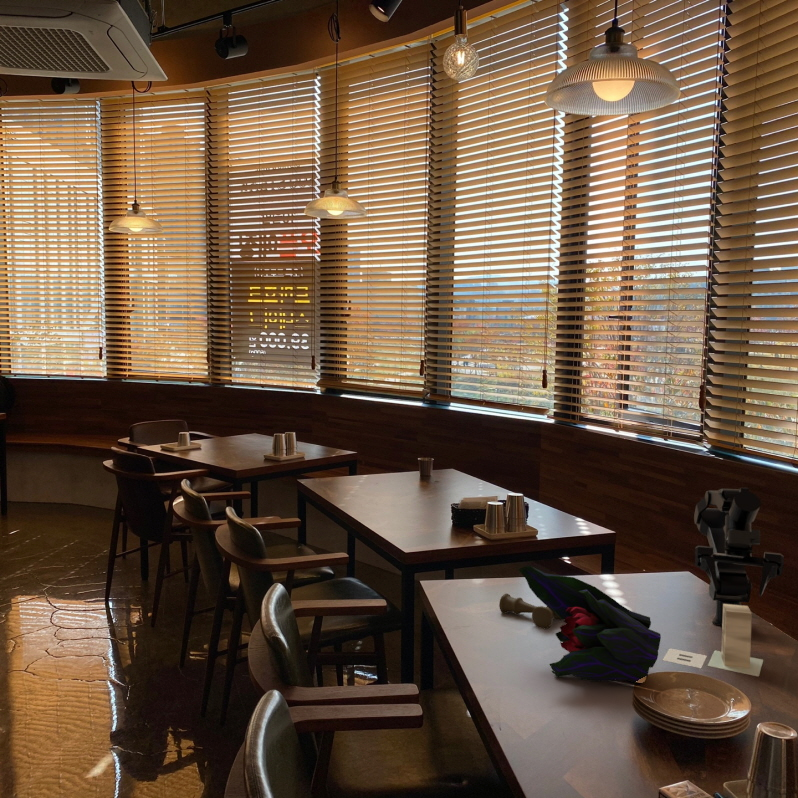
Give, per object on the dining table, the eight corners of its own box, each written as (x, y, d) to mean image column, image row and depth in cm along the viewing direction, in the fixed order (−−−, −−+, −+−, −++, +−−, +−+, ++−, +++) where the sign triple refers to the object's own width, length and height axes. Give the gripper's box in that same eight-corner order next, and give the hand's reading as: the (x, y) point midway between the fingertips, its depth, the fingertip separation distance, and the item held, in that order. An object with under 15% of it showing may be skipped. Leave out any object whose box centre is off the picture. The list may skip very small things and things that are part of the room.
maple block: (721, 656, 166) (723, 603, 166) (745, 659, 165) (747, 605, 164) (724, 665, 161) (726, 610, 161) (749, 668, 160) (751, 613, 159)
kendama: (512, 608, 200) (582, 623, 187) (493, 619, 193) (564, 635, 180) (511, 586, 200) (581, 600, 187) (492, 596, 192) (564, 611, 180)
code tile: (669, 649, 171) (669, 648, 171) (707, 657, 167) (707, 655, 167) (662, 661, 164) (662, 660, 164) (701, 669, 160) (701, 668, 160)
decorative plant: (635, 737, 150) (490, 687, 153) (632, 644, 172) (506, 602, 176) (673, 667, 139) (517, 615, 143) (665, 577, 162) (530, 535, 166)
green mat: (714, 652, 170) (714, 650, 170) (763, 661, 165) (763, 659, 165) (707, 667, 161) (707, 665, 161) (758, 677, 156) (758, 676, 156)
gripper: (696, 511, 177) (694, 569, 168) (784, 519, 170) (787, 580, 161) (696, 537, 185) (693, 594, 175) (780, 545, 178) (782, 605, 168)
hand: (738, 592), depth 170 cm, fingers open, 9 cm apart
